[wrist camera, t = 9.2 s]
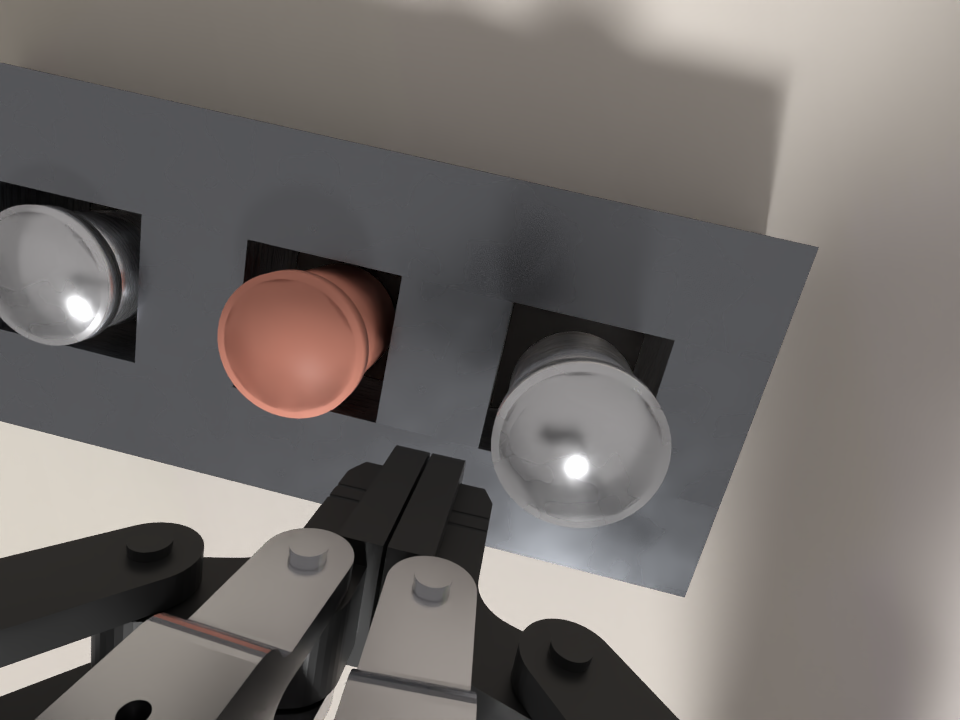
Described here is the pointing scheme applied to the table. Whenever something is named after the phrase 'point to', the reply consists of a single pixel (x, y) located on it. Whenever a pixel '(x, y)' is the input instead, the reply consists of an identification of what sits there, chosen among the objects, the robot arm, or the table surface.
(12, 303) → the steel plunger
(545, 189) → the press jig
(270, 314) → the terracotta plunger
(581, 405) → the steel plunger
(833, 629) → the table surface
